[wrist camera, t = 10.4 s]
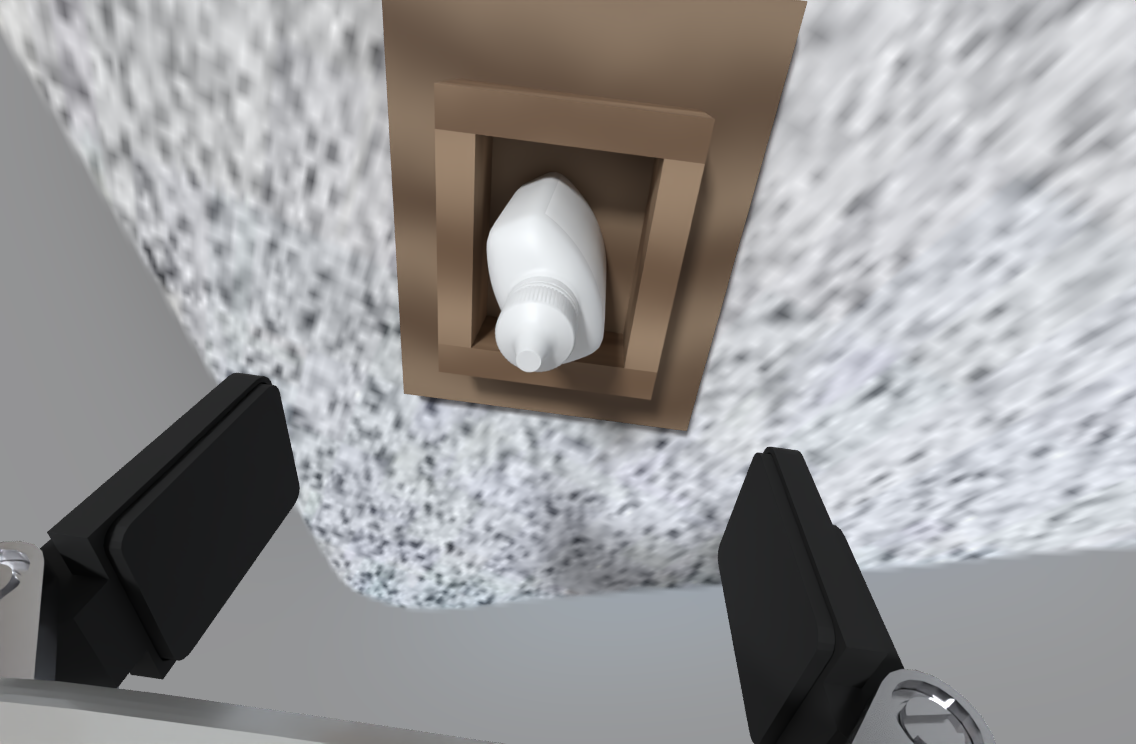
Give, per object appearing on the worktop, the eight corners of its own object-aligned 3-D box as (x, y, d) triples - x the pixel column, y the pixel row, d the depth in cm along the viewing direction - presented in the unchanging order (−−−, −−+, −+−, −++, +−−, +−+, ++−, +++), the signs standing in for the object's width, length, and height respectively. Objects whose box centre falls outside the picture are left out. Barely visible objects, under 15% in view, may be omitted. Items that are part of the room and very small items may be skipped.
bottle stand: (393, -48, 21) (337, -72, 17) (795, 4, 21) (841, -8, 17) (412, 379, 32) (381, 431, 27) (683, 415, 32) (694, 472, 27)
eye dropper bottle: (617, 175, 24) (621, 271, 13) (603, 294, 26) (597, 450, 16) (518, 165, 24) (445, 254, 13) (514, 285, 27) (452, 434, 16)
